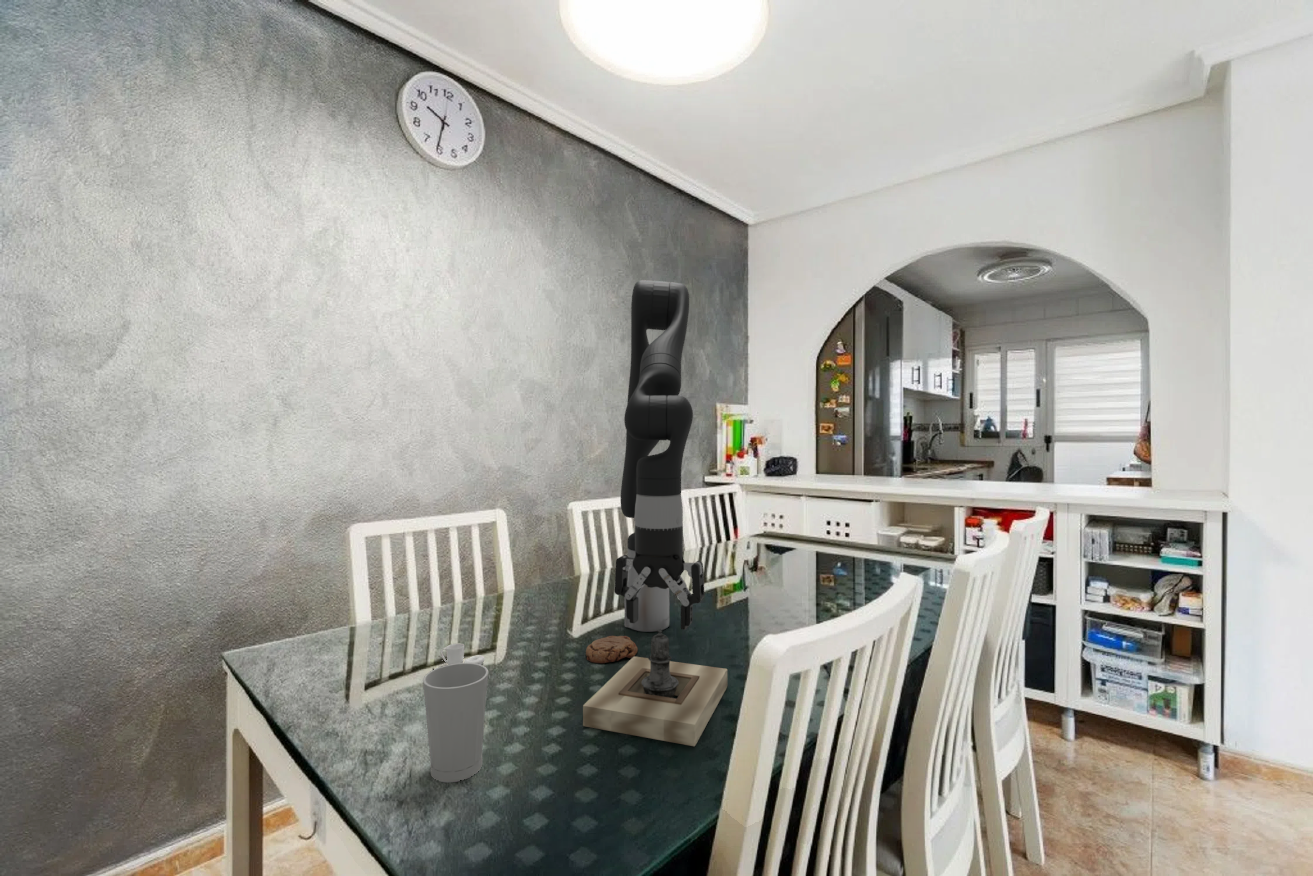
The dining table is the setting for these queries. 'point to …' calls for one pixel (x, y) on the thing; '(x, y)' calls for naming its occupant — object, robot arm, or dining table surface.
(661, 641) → the dark grey tall piece
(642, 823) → the dining table surface
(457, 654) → the teacup and saucer
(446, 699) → the cup
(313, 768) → the dining table surface
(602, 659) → the cookie
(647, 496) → the robot arm
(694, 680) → the birch frame
